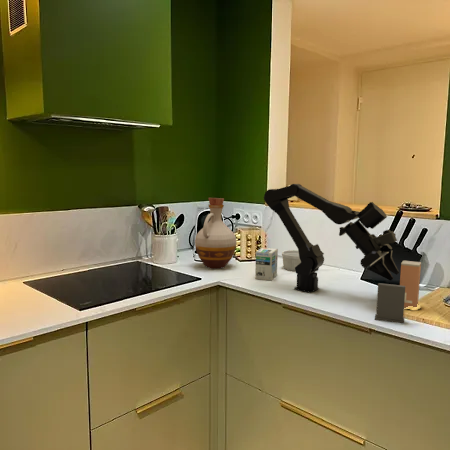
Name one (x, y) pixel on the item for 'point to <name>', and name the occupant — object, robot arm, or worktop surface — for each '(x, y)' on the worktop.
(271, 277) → the light bulb box
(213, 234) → the jug
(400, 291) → the screen
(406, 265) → the tin
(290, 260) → the ramekin
